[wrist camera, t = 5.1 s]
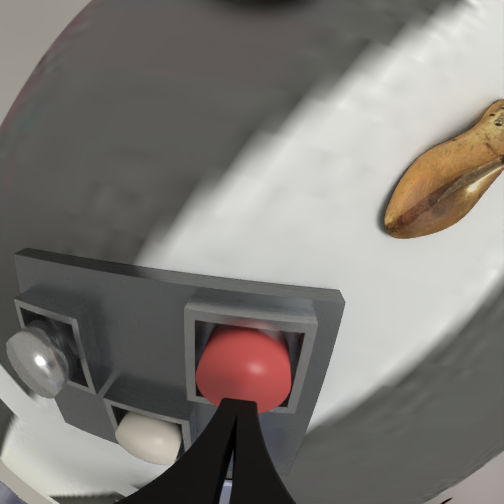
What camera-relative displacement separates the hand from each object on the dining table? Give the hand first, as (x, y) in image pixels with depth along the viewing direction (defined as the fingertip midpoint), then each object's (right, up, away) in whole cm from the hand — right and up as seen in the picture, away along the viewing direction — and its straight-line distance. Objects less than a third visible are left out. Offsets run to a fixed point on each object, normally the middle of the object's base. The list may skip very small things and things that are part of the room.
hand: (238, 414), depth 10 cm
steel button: (-12, 0, +4) cm, 13 cm away
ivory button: (-6, -6, +7) cm, 11 cm away
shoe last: (+13, +12, +2) cm, 18 cm away
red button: (0, +1, +4) cm, 4 cm away
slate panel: (-6, -2, +7) cm, 10 cm away
